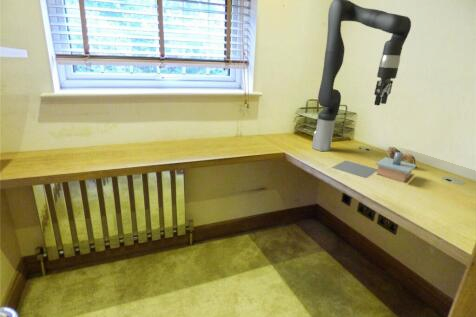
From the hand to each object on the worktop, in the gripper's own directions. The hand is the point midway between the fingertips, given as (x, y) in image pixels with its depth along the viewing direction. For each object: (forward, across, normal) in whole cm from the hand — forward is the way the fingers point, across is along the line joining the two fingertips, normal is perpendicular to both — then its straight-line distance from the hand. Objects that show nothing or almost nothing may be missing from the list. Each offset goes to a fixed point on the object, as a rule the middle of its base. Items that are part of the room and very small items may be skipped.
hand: (380, 104), depth 129 cm
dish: (+30, +3, +13) cm, 33 cm away
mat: (+30, +9, -2) cm, 31 cm away
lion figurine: (+30, -15, +11) cm, 35 cm away
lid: (+25, +3, +13) cm, 28 cm away
